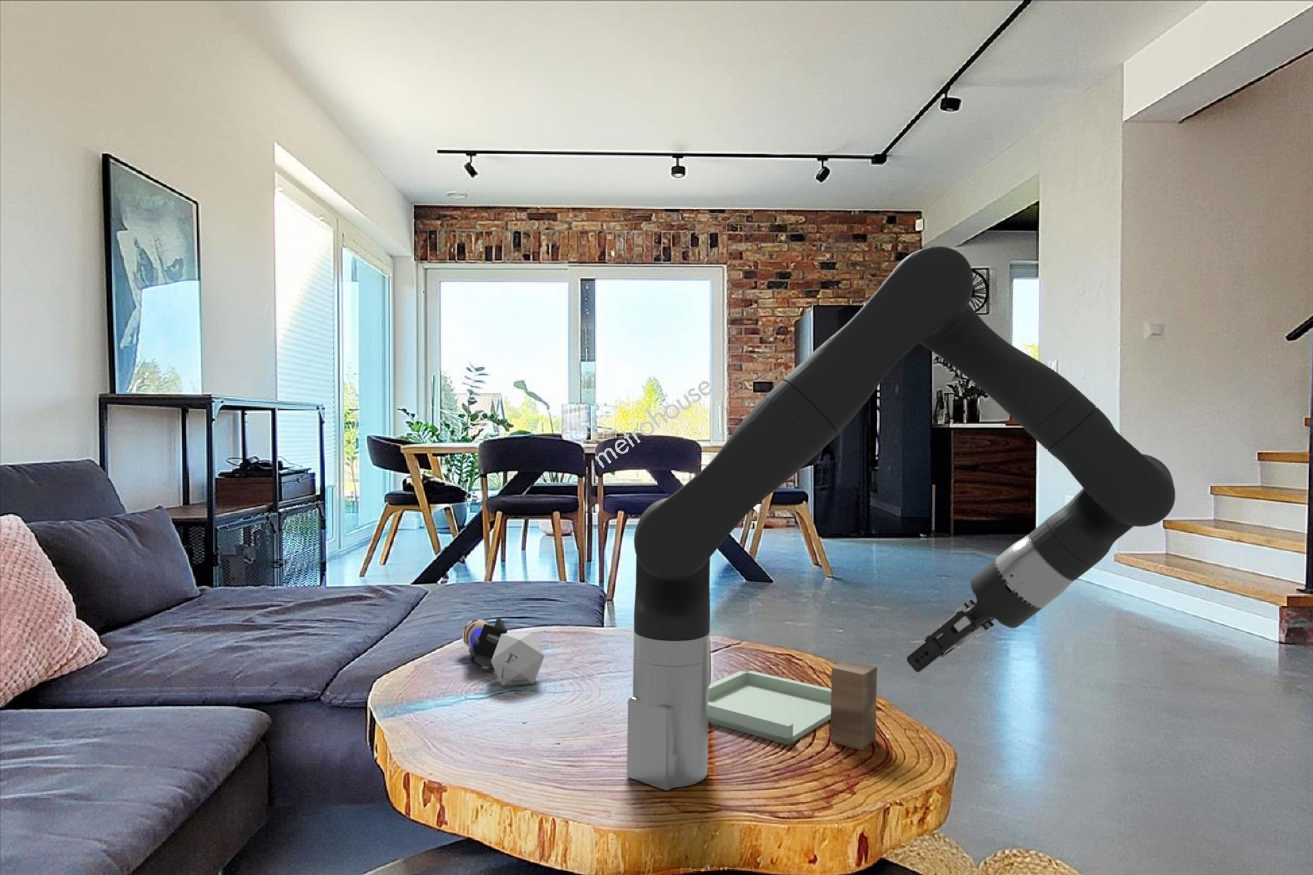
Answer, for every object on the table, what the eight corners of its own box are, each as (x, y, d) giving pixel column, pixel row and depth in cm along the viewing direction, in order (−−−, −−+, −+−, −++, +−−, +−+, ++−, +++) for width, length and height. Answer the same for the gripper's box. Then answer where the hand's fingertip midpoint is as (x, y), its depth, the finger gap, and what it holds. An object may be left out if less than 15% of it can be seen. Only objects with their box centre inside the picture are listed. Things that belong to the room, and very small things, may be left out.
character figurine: (468, 678, 137) (463, 654, 152) (512, 671, 139) (502, 648, 154) (465, 631, 137) (460, 612, 151) (509, 625, 139) (500, 607, 154)
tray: (788, 744, 110) (788, 726, 110) (679, 714, 121) (679, 697, 121) (846, 709, 124) (847, 692, 124) (744, 684, 135) (744, 669, 135)
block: (861, 750, 108) (863, 674, 108) (830, 741, 111) (831, 667, 111) (875, 739, 112) (877, 666, 112) (844, 731, 115) (846, 660, 115)
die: (479, 684, 135) (482, 647, 129) (508, 648, 142) (512, 611, 136) (522, 707, 133) (527, 670, 127) (550, 669, 140) (555, 632, 134)
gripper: (1015, 549, 105) (924, 623, 113) (981, 562, 94) (882, 644, 101) (1059, 596, 102) (962, 670, 109) (1029, 616, 91) (924, 697, 98)
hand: (924, 658), depth 105 cm, fingers open, 8 cm apart
